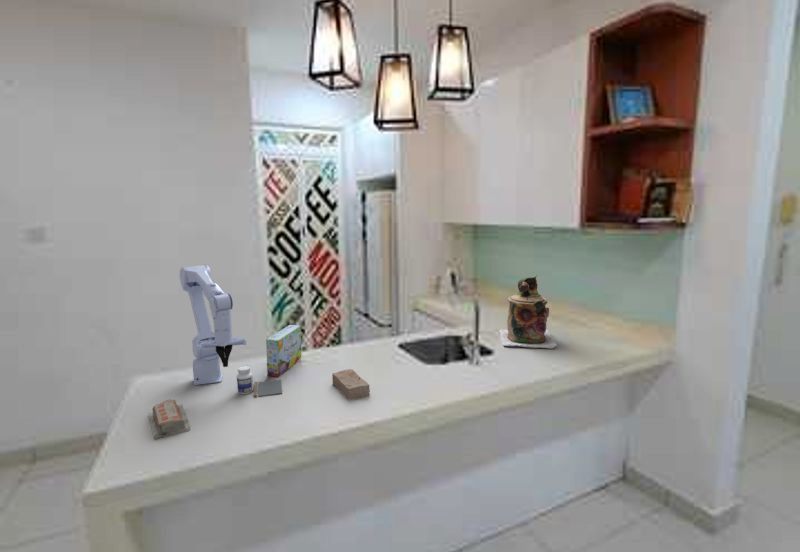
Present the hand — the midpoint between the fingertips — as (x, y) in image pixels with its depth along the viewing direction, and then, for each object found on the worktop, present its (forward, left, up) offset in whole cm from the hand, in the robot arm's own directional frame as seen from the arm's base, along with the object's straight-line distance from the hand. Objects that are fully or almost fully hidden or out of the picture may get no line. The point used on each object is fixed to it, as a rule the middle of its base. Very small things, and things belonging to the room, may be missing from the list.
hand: (225, 365), depth 159 cm
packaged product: (-16, -16, -11) cm, 25 cm away
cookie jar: (+134, +20, -11) cm, 136 cm away
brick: (+43, -9, -11) cm, 45 cm away
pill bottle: (+6, 0, -11) cm, 12 cm away
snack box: (+21, +20, -11) cm, 31 cm away
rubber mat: (+14, 0, -10) cm, 18 cm away
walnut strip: (+9, 0, -10) cm, 14 cm away
